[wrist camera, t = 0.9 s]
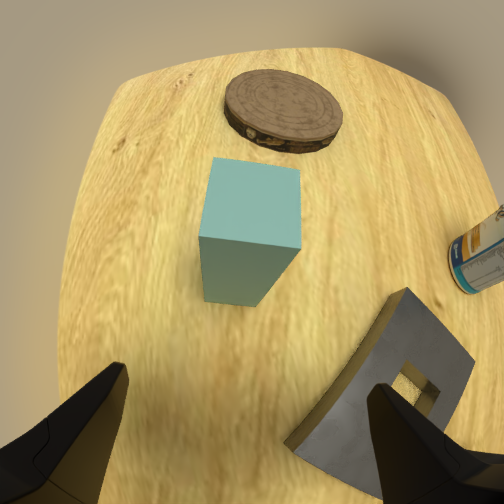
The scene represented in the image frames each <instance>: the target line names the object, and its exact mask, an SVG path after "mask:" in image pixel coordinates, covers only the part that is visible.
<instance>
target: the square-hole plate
mask: <svg viewBox="0 0 504 504" xmlns="http://www.w3.org/2000/svg"><path fill="white" fill-rule="evenodd" d="M474 364H475V361H474V359H473V358H472V357H471V356H470V355H469V353H468V352H467V351H466V350H465V349H464V348H463V346H462V345H461V344H460V343H459V342H458V341H457V339H456V338H455V337H454V336H453V335H452V334H451V333H450V332H449V330H448V329H447V328H446V327H445V326H444V325H443V324H442V323H441V322H440V321H439V319H438V318H437V317H436V316H435V315H434V314H433V313H432V312H431V311H430V310H429V309H428V308H427V307H426V306H425V305H424V304H423V303H422V302H421V300H420V299H419V298H418V297H417V296H416V295H415V294H414V293H413V292H412V291H411V290H410V289H409V288H408V287H406V288H404V289H402V290H400V291H397V292H395V293H393V294H391V295H390V296H389V298H388V300H387V302H386V303H385V305H384V307H383V309H382V310H381V312H380V314H379V315H378V317H377V319H376V320H375V322H374V324H373V325H372V327H371V329H370V330H369V332H368V333H367V335H366V337H365V338H364V340H363V341H362V343H361V344H360V346H359V347H358V349H357V350H356V352H355V353H354V355H353V356H352V358H351V359H350V361H349V362H348V364H347V365H346V366H345V368H344V369H343V371H342V372H341V373H340V375H339V376H338V378H337V379H336V380H335V382H334V383H333V384H332V386H331V387H330V388H329V390H328V391H327V392H326V394H325V395H324V396H323V397H322V399H321V400H320V401H319V402H318V404H317V405H316V406H315V407H314V409H313V410H312V411H311V412H310V413H309V415H308V416H307V417H306V418H305V419H304V421H303V422H302V423H301V424H300V425H299V426H298V427H297V429H296V430H295V431H294V432H293V433H292V434H291V435H290V436H289V438H288V439H287V440H286V441H285V442H284V444H285V445H286V446H287V447H288V448H289V449H290V450H291V451H292V452H293V453H294V454H296V455H298V456H299V457H301V458H302V459H304V460H306V461H307V462H309V463H311V464H312V465H314V466H316V467H317V468H319V469H321V470H323V471H324V472H326V473H328V474H330V475H332V476H333V477H335V478H337V479H339V480H341V481H343V482H345V483H347V484H349V485H351V486H353V487H355V488H357V489H359V490H361V491H363V492H365V493H367V494H369V495H372V496H374V497H376V498H378V499H381V500H383V498H382V491H381V486H380V480H379V474H378V469H377V464H376V459H375V454H374V449H373V444H372V440H371V435H370V428H369V419H368V410H367V403H366V399H367V396H368V394H369V393H370V391H371V390H372V389H373V387H374V386H375V384H377V383H387V384H388V385H389V386H391V385H392V384H393V382H394V380H395V379H396V377H397V375H398V374H399V372H401V373H403V374H404V375H405V376H406V377H407V378H408V379H409V380H410V381H412V382H413V383H414V384H415V385H416V386H417V387H418V388H419V389H420V390H422V393H421V395H420V397H419V399H418V400H417V402H416V404H415V406H414V407H415V408H416V409H417V410H418V411H419V412H420V413H422V414H423V415H424V416H425V417H426V418H427V419H429V420H430V421H431V422H432V423H433V424H434V425H435V426H437V427H438V428H439V429H440V430H441V431H442V432H444V430H445V428H446V426H447V424H448V423H449V421H450V419H451V417H452V415H453V413H454V411H455V409H456V407H457V405H458V403H459V400H460V398H461V396H462V394H463V392H464V389H465V387H466V385H467V382H468V380H469V377H470V375H471V372H472V369H473V367H474Z"/></svg>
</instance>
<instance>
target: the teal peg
mask: <svg viewBox="0 0 504 504" xmlns="http://www.w3.org/2000/svg"><path fill="white" fill-rule="evenodd" d="M199 247H200V259H201V270H202V280H203V289H204V299H205V302H213V303H222V304H231V305H240V306H250V307H256V306H257V305H258V303H259V302H260V301H261V300H262V298H263V297H264V296H265V295H266V293H267V292H268V291H269V290H270V288H271V287H272V286H273V284H274V283H275V282H276V281H277V279H278V278H279V277H280V276H281V274H282V273H283V272H284V270H285V269H286V268H287V267H288V265H289V264H290V263H291V261H292V260H293V259H294V258H295V256H296V255H297V254H298V252H299V251H300V250H301V193H300V170H297V169H291V168H286V167H280V166H274V165H268V164H261V163H254V162H247V161H240V160H232V159H224V158H216V157H214V158H213V162H212V167H211V172H210V177H209V182H208V187H207V192H206V197H205V203H204V208H203V214H202V219H201V225H200V231H199Z"/></svg>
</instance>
